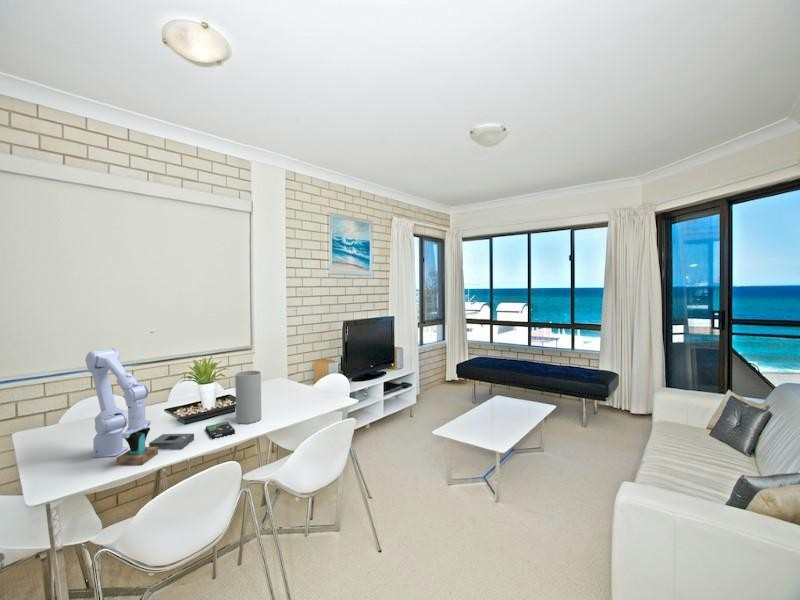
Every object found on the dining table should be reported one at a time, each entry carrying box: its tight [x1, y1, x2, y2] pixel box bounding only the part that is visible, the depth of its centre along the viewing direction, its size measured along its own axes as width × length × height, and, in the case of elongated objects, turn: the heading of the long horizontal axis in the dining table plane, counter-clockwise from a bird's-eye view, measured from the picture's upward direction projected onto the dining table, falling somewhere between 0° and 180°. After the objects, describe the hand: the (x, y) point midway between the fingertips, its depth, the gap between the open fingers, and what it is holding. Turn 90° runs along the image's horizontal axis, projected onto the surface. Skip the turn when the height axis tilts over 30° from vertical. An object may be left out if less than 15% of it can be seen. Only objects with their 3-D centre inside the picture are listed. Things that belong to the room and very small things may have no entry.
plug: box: [129, 432, 146, 455], centre depth 151 cm, size 4×4×11 cm
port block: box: [148, 433, 195, 450], centre depth 166 cm, size 14×10×3 cm
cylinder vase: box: [234, 370, 262, 425], centre depth 196 cm, size 12×12×25 cm
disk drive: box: [204, 421, 236, 440], centre depth 180 cm, size 10×3×15 cm
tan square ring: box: [115, 446, 159, 466], centre depth 152 cm, size 10×10×3 cm
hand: (137, 448), depth 151 cm, fingers closed on plug, 4 cm apart
